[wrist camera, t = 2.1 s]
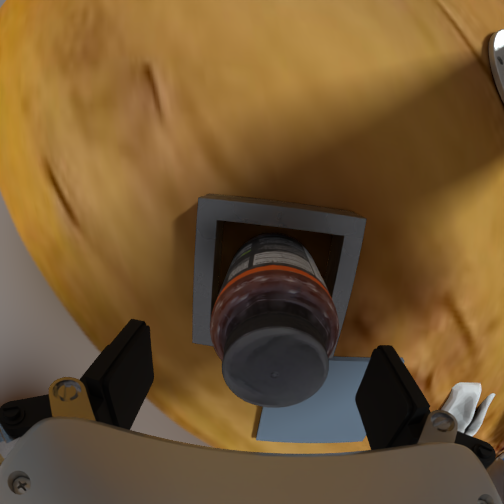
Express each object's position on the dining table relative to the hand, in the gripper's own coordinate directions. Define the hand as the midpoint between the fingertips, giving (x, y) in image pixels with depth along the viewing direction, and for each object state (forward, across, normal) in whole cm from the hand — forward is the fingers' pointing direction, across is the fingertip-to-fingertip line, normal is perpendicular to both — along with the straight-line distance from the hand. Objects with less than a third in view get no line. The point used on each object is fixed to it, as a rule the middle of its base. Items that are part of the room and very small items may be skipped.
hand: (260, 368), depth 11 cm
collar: (+10, -1, -1) cm, 10 cm away
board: (+10, -8, +12) cm, 18 cm away
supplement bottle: (+10, -1, -1) cm, 11 cm away
